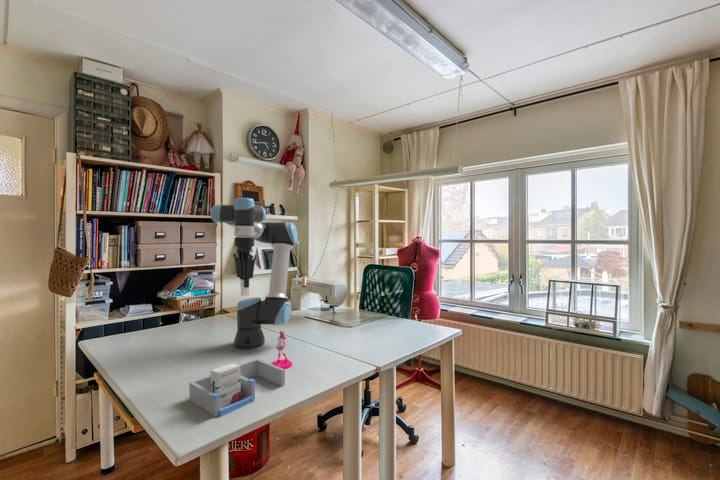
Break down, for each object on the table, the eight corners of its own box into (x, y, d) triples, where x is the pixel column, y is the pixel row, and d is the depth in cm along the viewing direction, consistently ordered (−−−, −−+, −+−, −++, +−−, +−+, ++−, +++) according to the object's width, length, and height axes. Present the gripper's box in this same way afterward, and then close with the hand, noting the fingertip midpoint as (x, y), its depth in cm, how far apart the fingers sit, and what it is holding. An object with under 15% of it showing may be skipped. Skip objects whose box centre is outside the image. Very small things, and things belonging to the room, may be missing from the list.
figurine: (268, 362, 150) (268, 329, 149) (290, 359, 154) (290, 326, 153) (271, 371, 141) (271, 335, 140) (294, 367, 145) (294, 332, 144)
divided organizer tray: (189, 399, 117) (189, 380, 117) (257, 373, 139) (257, 357, 139) (216, 418, 106) (216, 397, 106) (286, 385, 128) (286, 368, 128)
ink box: (233, 394, 121) (233, 361, 121) (241, 399, 118) (241, 365, 118) (210, 404, 115) (210, 369, 114) (218, 409, 111) (217, 373, 111)
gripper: (226, 236, 137) (227, 294, 138) (245, 237, 129) (246, 298, 130) (243, 236, 143) (243, 291, 144) (262, 237, 135) (262, 295, 136)
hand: (244, 295), depth 137 cm, fingers closed
